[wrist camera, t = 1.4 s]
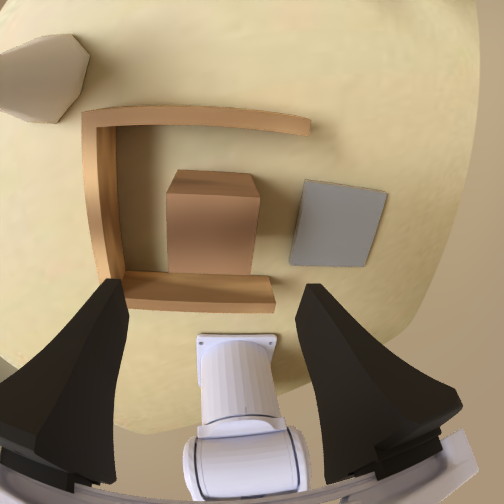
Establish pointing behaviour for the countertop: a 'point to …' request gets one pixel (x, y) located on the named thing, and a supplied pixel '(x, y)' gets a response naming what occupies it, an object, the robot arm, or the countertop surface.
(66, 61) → the flask
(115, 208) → the oak bracket
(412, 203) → the countertop surface
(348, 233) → the slate coaster
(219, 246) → the walnut block
